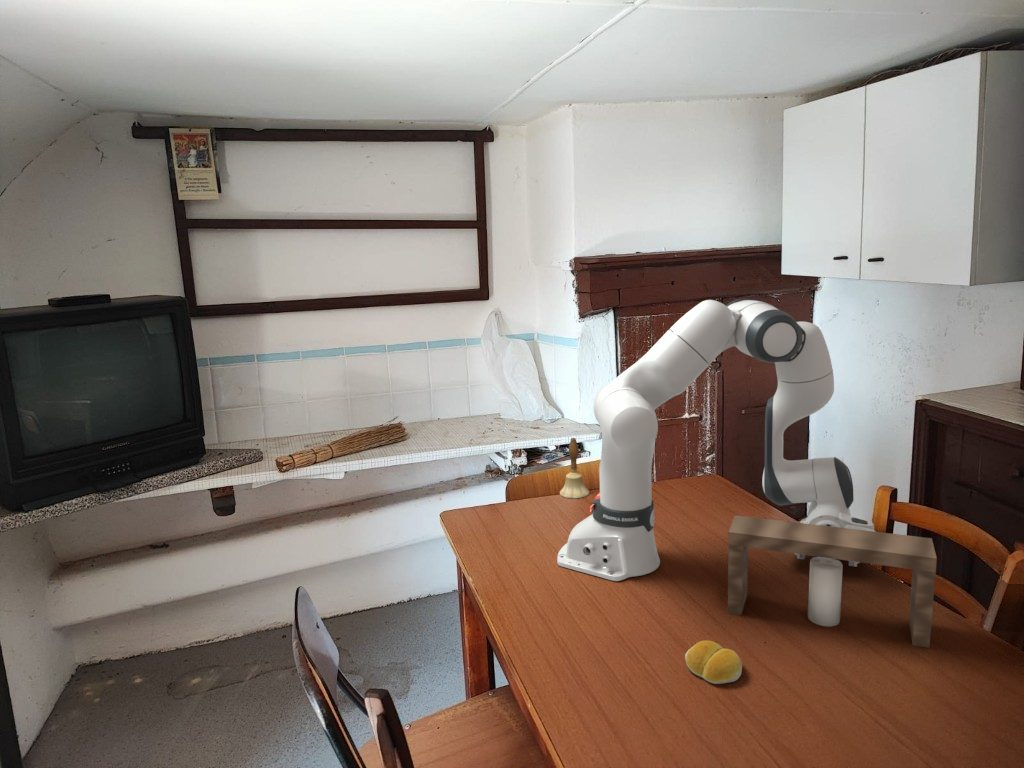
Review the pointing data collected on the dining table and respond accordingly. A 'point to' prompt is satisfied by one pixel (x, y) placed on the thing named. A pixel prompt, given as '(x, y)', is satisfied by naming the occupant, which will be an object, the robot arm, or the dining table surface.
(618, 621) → the dining table surface
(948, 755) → the dining table surface
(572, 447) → the hand bell
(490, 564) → the dining table surface
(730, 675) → the bread roll
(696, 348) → the robot arm
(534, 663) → the dining table surface
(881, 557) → the arch
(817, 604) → the white cylinder
